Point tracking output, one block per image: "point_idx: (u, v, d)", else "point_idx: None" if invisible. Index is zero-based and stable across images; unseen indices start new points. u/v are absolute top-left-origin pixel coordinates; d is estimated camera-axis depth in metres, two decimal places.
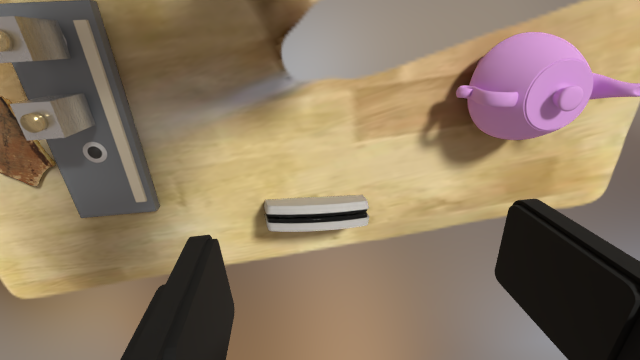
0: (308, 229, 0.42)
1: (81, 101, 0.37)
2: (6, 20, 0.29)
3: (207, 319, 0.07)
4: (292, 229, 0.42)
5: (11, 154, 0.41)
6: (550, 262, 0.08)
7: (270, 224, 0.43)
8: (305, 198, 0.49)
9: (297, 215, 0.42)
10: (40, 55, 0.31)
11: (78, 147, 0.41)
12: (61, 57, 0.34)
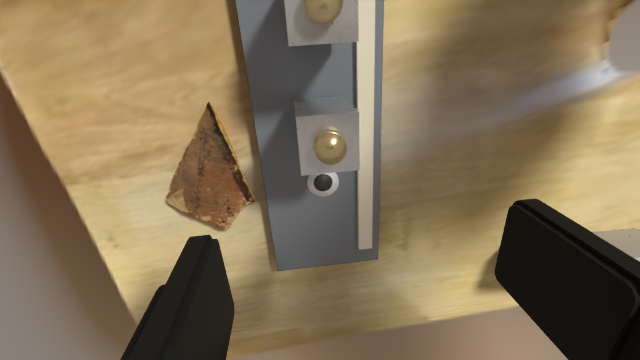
0: None
1: None
2: None
3: (207, 319, 0.07)
4: None
5: (204, 187, 0.28)
6: (550, 262, 0.08)
7: None
8: None
9: None
10: None
11: None
12: None
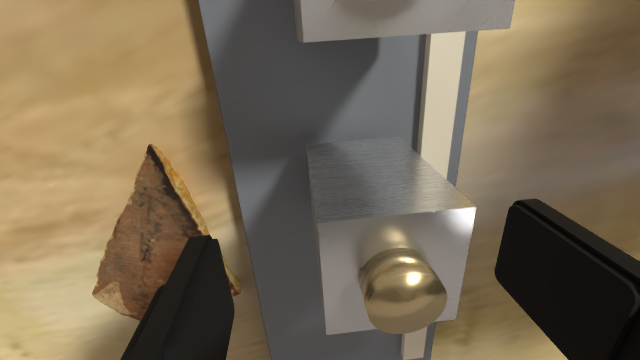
0: None
1: None
2: None
3: (207, 319, 0.07)
4: None
5: (154, 278, 0.17)
6: (550, 262, 0.08)
7: None
8: None
9: None
10: None
11: None
12: None
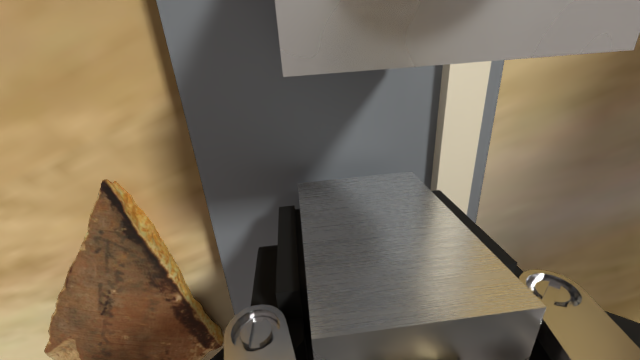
0: None
1: None
2: None
3: None
4: None
5: (117, 334, 0.14)
6: None
7: None
8: None
9: None
10: None
11: None
12: None
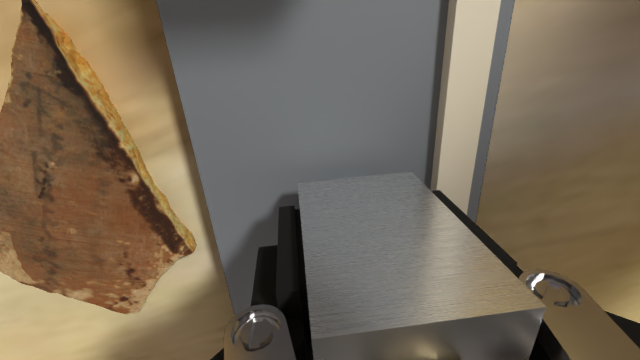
0: None
1: None
2: None
3: None
4: None
5: (62, 226, 0.12)
6: None
7: None
8: None
9: None
10: None
11: None
12: None
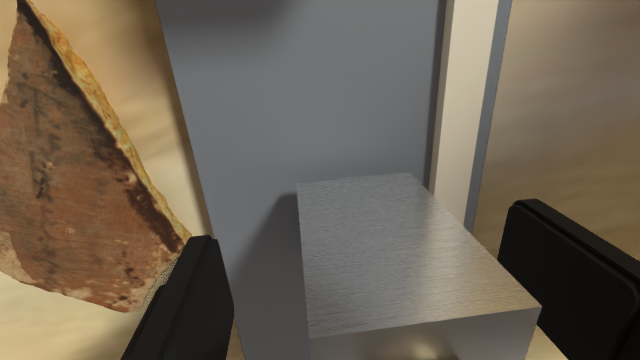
0: None
1: None
2: None
3: (207, 319, 0.07)
4: None
5: (60, 226, 0.12)
6: (550, 262, 0.08)
7: None
8: None
9: None
10: None
11: None
12: None
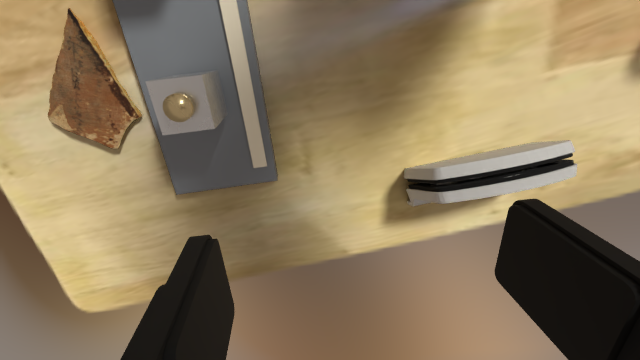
0: (504, 191, 0.29)
1: (217, 81, 0.27)
2: None
3: (207, 319, 0.07)
4: (480, 195, 0.29)
5: (83, 101, 0.28)
6: (550, 262, 0.08)
7: (443, 193, 0.30)
8: (461, 157, 0.36)
9: (484, 174, 0.29)
10: None
11: None
12: None
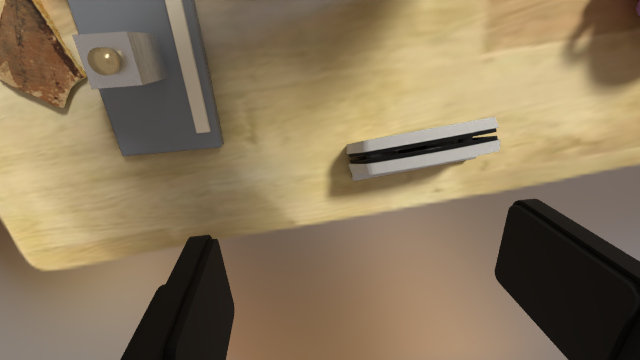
0: (426, 163, 0.31)
1: (155, 43, 0.28)
2: None
3: (207, 319, 0.07)
4: (403, 166, 0.31)
5: (27, 59, 0.30)
6: (550, 262, 0.08)
7: (371, 165, 0.32)
8: None
9: (408, 146, 0.31)
10: None
11: None
12: None
